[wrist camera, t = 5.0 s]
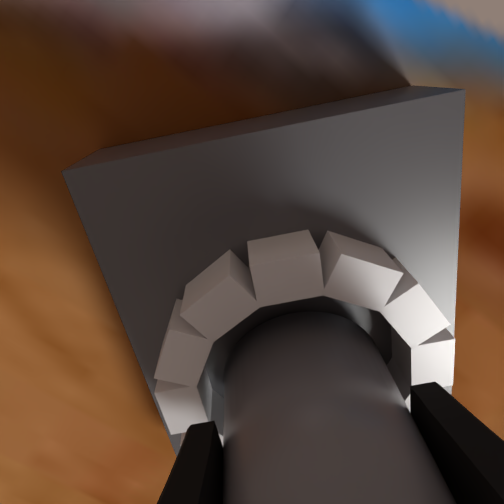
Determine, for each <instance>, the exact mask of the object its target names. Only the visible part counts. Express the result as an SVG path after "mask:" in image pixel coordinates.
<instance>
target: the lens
mask: <svg viewBox="0 0 504 504" xmlns="http://www.w3.org/2000/svg"><path fill="white" fill-rule="evenodd" d="M223 504H457V503H456V501H455V499H454V497H453V495H452V493H451V492H450V490H449V488H448V486H447V484H446V482H445V480H444V478H443V476H442V474H441V472H440V470H439V468H438V466H437V464H436V462H435V460H434V458H433V456H432V454H431V452H430V450H429V448H428V446H427V444H426V442H425V440H424V438H423V437H422V435H421V433H420V431H419V429H418V427H417V425H416V423H415V421H414V419H413V417H412V415H411V413H410V411H409V409H408V407H407V405H406V403H405V401H404V399H403V397H402V395H401V393H400V391H399V389H398V387H397V385H396V383H395V382H394V380H393V378H392V376H391V374H390V372H389V370H388V368H387V366H386V364H385V362H384V360H383V358H382V356H381V354H380V352H379V350H378V348H377V346H376V344H375V342H374V341H373V339H372V338H371V336H370V335H369V334H368V333H367V332H366V331H365V330H364V329H363V328H362V327H360V326H359V325H358V324H356V323H354V322H353V321H351V320H349V319H347V318H344V317H342V316H339V315H335V314H331V313H325V312H311V311H307V312H296V313H291V314H286V315H282V316H279V317H276V318H273V319H271V320H268V321H266V322H264V323H262V324H260V325H259V326H257V327H255V328H254V329H252V330H251V331H250V332H248V333H247V334H246V335H245V336H244V337H243V338H242V339H241V340H240V341H239V342H238V343H237V344H236V345H235V347H234V348H233V350H232V351H231V353H230V355H229V357H228V360H227V362H226V366H225V370H224V422H223Z"/></svg>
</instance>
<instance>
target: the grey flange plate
mask: <svg viewBox="0 0 504 504" xmlns="http://www.w3.org/2000/svg"><path fill="white" fill-rule="evenodd" d="M464 110H465V89H453V88H439V87H425V86H407V87H402V88H398V89H393V90H388V91H383V92H378V93H373V94H368V95H363V96H358V97H353V98H348V99H344V100H339V101H334V102H329V103H324V104H319V105H314V106H309V107H304V108H299V109H295V110H290V111H285V112H280V113H275V114H270V115H265V116H260V117H255V118H250V119H246V120H241V121H236V122H231V123H226V124H221V125H216V126H211V127H206V128H201V129H197V130H192V131H187V132H182V133H177V134H172V135H167V136H162V137H157V138H152V139H148V140H143V141H138V142H133V143H128V144H123V145H118V146H113V147H108V148H103V149H99V150H97V151H95V152H94V153H92V154H90V155H89V156H87V157H85V158H83V159H82V160H80V161H78V162H76V163H75V164H73V165H71V166H70V167H68V168H66V169H64V170H63V171H61V172H62V174H63V177H64V179H65V182H66V184H67V187H68V189H69V192H70V194H71V197H72V199H73V202H74V204H75V206H76V209H77V211H78V214H79V216H80V219H81V221H82V224H83V226H84V229H85V231H86V234H87V236H88V239H89V241H90V244H91V246H92V248H93V251H94V253H95V256H96V258H97V261H98V263H99V266H100V268H101V271H102V273H103V276H104V278H105V281H106V283H107V286H108V288H109V291H110V293H111V295H112V298H113V300H114V303H115V305H116V308H117V310H118V313H119V315H120V318H121V320H122V323H123V325H124V328H125V330H126V333H127V335H128V337H129V340H130V342H131V345H132V347H133V350H134V352H135V355H136V357H137V360H138V362H139V365H140V367H141V370H142V372H143V375H144V377H145V380H146V382H147V384H148V387H149V389H150V392H151V394H152V397H153V399H154V402H155V404H156V407H157V409H158V412H159V414H160V417H161V419H162V422H163V424H164V426H165V429H166V431H167V434H168V436H169V439H170V441H171V444H172V446H173V449H174V451H175V454H176V456H177V455H178V453H179V450H180V448H181V445H182V442H183V440H184V437H185V434H186V431H187V429H188V427H189V426H190V425H192V424H198V423H203V422H209V421H215V424H216V427H217V430H218V433H219V436H220V439H221V442H222V445H223V422H224V370H225V366H226V362H227V360H228V357H229V355H230V353H231V351H232V350H233V348H234V347H235V345H236V344H237V343H238V342H239V341H240V340H241V339H242V338H243V337H244V336H245V335H246V334H247V333H248V332H250V331H251V330H252V329H254V328H255V327H257V326H259V325H260V324H262V323H264V322H266V321H268V320H271V319H273V318H276V317H279V316H282V315H286V314H291V313H296V312H307V311H311V312H325V313H331V314H335V315H339V316H342V317H344V318H347V319H349V320H351V321H353V322H354V323H356V324H358V325H359V326H360V327H362V328H363V329H364V330H365V331H366V332H367V333H368V334H369V335H370V336H371V338H372V339H373V341H374V342H375V344H376V346H377V348H378V350H379V352H380V354H381V356H382V358H383V360H384V362H385V364H386V366H387V368H388V370H389V372H390V374H391V376H392V378H393V380H394V382H395V383H396V385H397V387H398V389H399V391H400V393H401V395H402V397H403V399H404V401H405V403H406V405H407V407H408V409H409V411H410V386H412V385H418V384H424V383H429V382H437V383H438V384H439V385H441V386H442V387H443V388H444V389H445V390H446V391H447V392H448V393H449V394H450V395H451V390H452V385H453V373H454V352H455V338H454V325H455V304H456V282H457V261H458V239H459V217H460V196H461V174H462V153H463V131H464Z"/></svg>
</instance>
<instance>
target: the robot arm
mask: <svg viewBox="0 0 504 504" xmlns="http://www.w3.org/2000/svg"><path fill="white" fill-rule="evenodd" d="M410 413H411V415H412V417H413V419H414V421H415V423H416V425H417V427H418V429H419V431H420V433H421V435H422V437H423V438H424V440H425V442H426V444H427V446H428V448H429V450H430V452H431V454H432V456H433V458H434V460H435V462H436V464H437V466H438V468H439V470H440V472H441V474H442V476H443V478H444V480H445V482H446V484H447V486H448V488H449V490H450V492H451V493H452V495H453V497H454V499H455V501H456V503H457V504H504V441H503V440H502V439H501V438H500V437H498V436H497V435H496V434H495V433H494V432H492V431H491V430H490V429H489V428H488V427H487V426H485V425H484V424H483V423H482V422H481V421H480V420H479V419H477V418H476V417H475V416H474V415H473V414H472V413H471V412H469V411H468V410H467V409H466V408H465V407H464V406H463V405H462V404H460V403H459V402H458V401H457V400H456V399H455V398H454V397H453V396H452V395H450V394H449V393H448V392H447V391H446V390H445V389H444V388H443V387H442V386H441V385H439V384H438V383H437V382H429V383H424V384H418V385H412V386H410ZM157 504H223V445H222V442H221V439H220V436H219V433H218V430H217V427H216V424H215V421H209V422H203V423H198V424H192V425H190V426H189V427H188V429H187V431H186V434H185V437H184V440H183V442H182V445H181V448H180V450H179V453H178V455H177V458H176V460H175V463H174V465H173V468H172V470H171V473H170V475H169V477H168V480H167V482H166V485H165V487H164V489H163V491H162V493H161V496H160V498H159V500H158V502H157Z"/></svg>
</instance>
